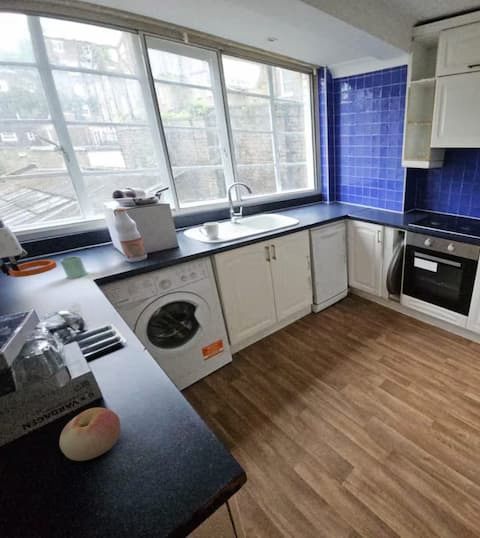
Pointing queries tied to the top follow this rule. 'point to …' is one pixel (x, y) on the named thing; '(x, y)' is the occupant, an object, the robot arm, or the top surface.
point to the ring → (49, 266)
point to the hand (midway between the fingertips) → (13, 273)
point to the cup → (73, 267)
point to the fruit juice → (129, 236)
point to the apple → (90, 434)
